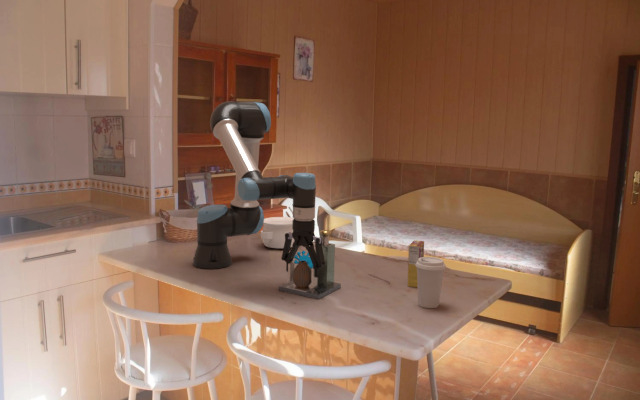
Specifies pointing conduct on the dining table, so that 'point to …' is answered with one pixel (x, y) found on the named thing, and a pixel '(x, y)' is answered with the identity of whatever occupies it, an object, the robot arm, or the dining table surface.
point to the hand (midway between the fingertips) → (302, 283)
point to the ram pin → (325, 237)
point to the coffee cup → (429, 281)
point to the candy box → (414, 261)
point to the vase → (302, 275)
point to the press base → (318, 278)
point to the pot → (276, 231)
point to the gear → (303, 259)
